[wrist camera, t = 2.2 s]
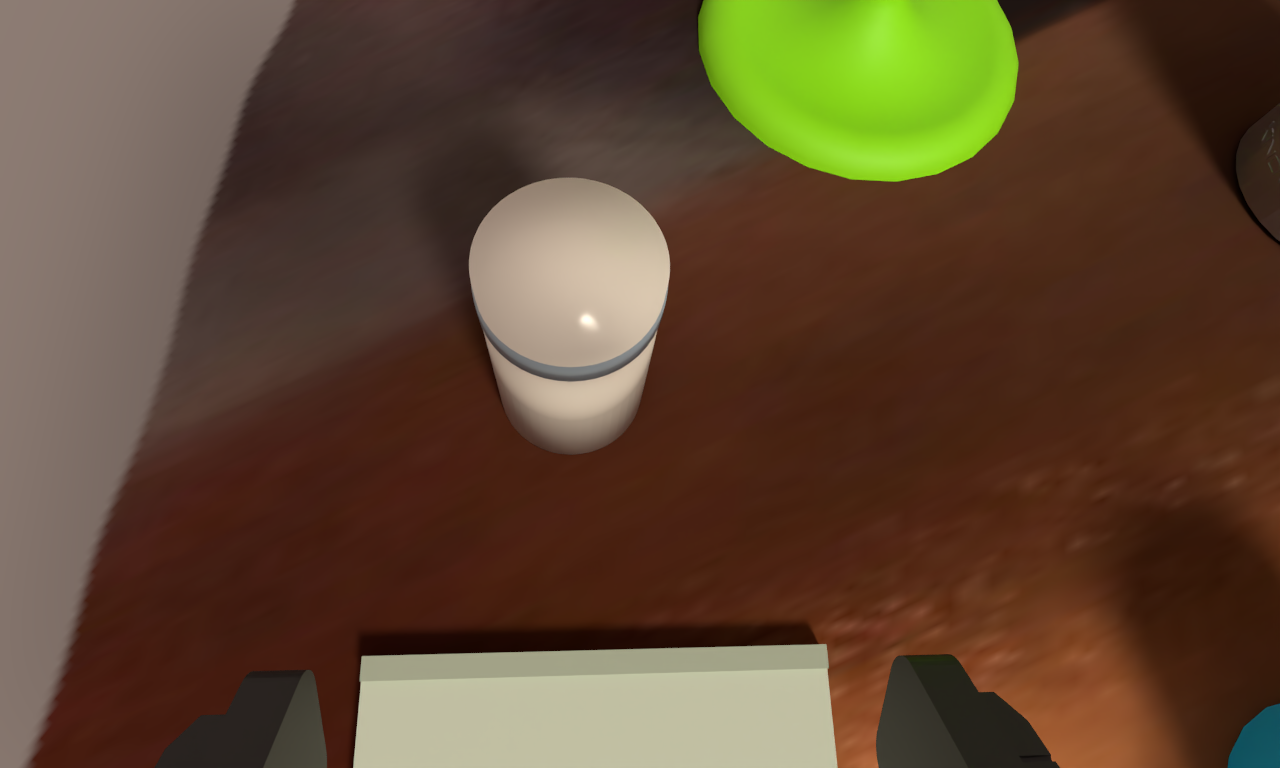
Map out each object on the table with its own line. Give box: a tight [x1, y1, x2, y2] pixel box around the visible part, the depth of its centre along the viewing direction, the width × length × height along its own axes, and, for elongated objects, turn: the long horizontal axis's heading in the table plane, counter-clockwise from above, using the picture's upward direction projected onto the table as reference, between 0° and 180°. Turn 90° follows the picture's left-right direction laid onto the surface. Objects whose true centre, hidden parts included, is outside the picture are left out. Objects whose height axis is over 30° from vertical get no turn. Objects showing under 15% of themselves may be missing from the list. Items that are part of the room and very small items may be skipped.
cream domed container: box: [469, 178, 670, 455], centre depth 27 cm, size 6×6×10 cm
